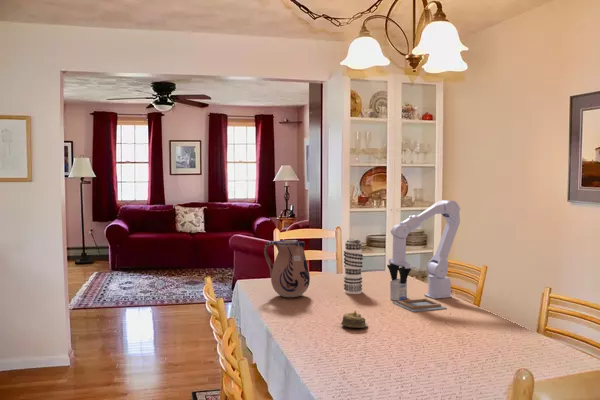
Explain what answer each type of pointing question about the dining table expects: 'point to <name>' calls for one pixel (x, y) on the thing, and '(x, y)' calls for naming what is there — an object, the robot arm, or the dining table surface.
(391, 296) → the medicine box
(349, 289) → the decorative candle
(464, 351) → the dining table surface
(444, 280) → the robot arm
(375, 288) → the dining table surface
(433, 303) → the board
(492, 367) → the dining table surface
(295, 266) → the ceramic pitcher
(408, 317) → the dining table surface
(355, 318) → the cake
